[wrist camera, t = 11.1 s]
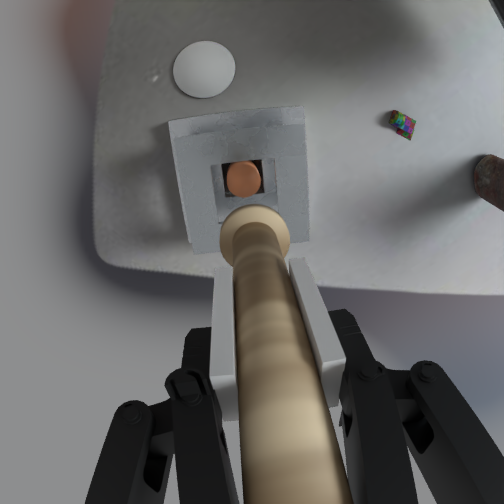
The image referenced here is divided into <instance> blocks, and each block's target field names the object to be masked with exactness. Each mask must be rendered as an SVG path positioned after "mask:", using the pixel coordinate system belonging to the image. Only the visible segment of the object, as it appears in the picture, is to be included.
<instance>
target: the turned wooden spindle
mask: <svg viewBox="0 0 504 504" xmlns="http://www.w3.org/2000/svg"><path fill="white" fill-rule="evenodd" d="M219 244H220V250H221V253H222V255H223V257H224V259H225V260H226V261H227V262H228V263H229V264H230V265H231V266H232V267H233V281H234V302H235V329H236V354H237V377H238V413H239V432H240V448H241V449H240V450H241V467H242V484H243V499H244V504H354V502H353V498H352V494H351V490H350V486H349V482H348V478H347V475H346V471H345V467H344V463H343V459H342V456H341V452H340V448H339V444H338V441H337V437H336V433H335V430H334V426H333V423H332V419H331V415H330V411H329V408H328V404H327V401H326V397H325V394H324V390H323V387H322V383H321V380H320V377H319V373H318V370H317V366H316V363H315V359H314V356H313V353H312V349H311V346H310V342H309V339H308V336H307V332H306V329H305V326H304V322H303V319H302V316H301V312H300V309H299V306H298V303H297V299H296V296H295V293H294V290H293V286H292V283H291V280H290V277H289V273H288V270H287V267H286V264H285V261H284V257H285V256H286V254H287V252H288V249H289V245H290V235H289V231H288V228H287V226H286V224H285V221H284V220H283V218H282V217H281V215H280V214H279V213H278V212H277V211H275V210H274V209H272V208H270V207H268V206H265V205H261V204H248V205H244V206H241V207H239V208H237V209H235V210H233V211H232V212H231V213H230V214H229V215H228V216H227V217H226V218H225V220H224V222H223V223H222V226H221V230H220V240H219Z"/></svg>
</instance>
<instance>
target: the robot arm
mask: <svg viewBox="0 0 504 504" xmlns="http://www.w3.org/2000/svg"><path fill="white" fill-rule="evenodd" d="M489 2H490V4H491V6H492V7H493V9H494V11H495V13H496V15H497V17H498V19H499V20H500V22H501V24H502V26H503V28H504V0H489ZM289 276H290V280H291V283H292V286H293V290H294V293H295V296H296V299H297V303H298V306H299V309H300V312H301V316H302V319H303V322H304V326H305V329H306V332H307V336H308V339H309V342H310V346H311V349H312V353H313V356H314V359H315V363H316V366H317V370H318V373H319V377H320V380H321V383H322V387H323V390H324V394H325V397H326V401H327V404H328V408H330V407H335V406H338V403H339V399H340V402H341V405H342V412H341V417H340V421H339V426H342V428H343V436H344V446H345V454H346V465H347V476H348V482H349V486H350V490H351V494H352V498H353V502H354V504H418V499H417V493H416V488H415V482H414V478H413V472H412V467H411V462H410V458H409V454H408V449H407V446H408V448H409V450H410V452H411V454H412V456H413V458H414V459H415V461H416V463H417V465H418V467H419V469H420V471H421V473H422V475H423V477H424V479H425V481H426V483H427V485H428V487H429V489H430V491H431V492H432V495H433V496H434V499H435V501H436V503H437V504H504V457H503V455H502V453H501V452H500V450H499V449H498V447H497V446H496V444H495V443H494V441H493V439H492V438H491V436H490V435H489V433H488V432H487V431H486V429H485V427H484V426H483V425H482V423H481V422H480V420H479V419H478V417H477V416H476V414H475V413H474V411H473V410H472V409H471V407H470V406H469V404H468V403H467V402H466V400H465V399H464V397H463V396H462V395H461V393H460V392H459V390H458V389H457V388H456V386H455V385H454V384H453V383H452V381H451V380H450V378H449V377H448V376H447V374H446V373H445V372H444V370H443V369H442V368H441V367H440V366H439V365H438V364H436V363H434V362H432V361H425V360H424V361H420V362H417V363H416V364H414V365H413V366H412V368H411V370H391V369H387V368H385V366H384V365H382V364H381V363H380V362H378V361H376V360H375V359H374V357H373V355H372V353H371V351H370V349H369V346H368V344H367V342H366V340H365V338H364V336H363V334H362V333H361V330H360V328H359V326H358V324H357V322H356V320H355V318H354V316H353V315H352V314H350V312H348V311H347V310H346V309H341V310H334V311H328V312H327V310H326V307H325V305H324V303H323V300H322V297H321V295H320V293H319V290H318V288H317V285H316V283H315V281H314V278H313V276H312V274H311V271H310V269H309V267H308V264H307V262H306V260H305V258H295V259H289ZM165 388H166V390H167V392H168V394H169V396H170V398H169V399H168V400H166V401H163V402H161V403H157V404H154V405H151V406H147V405H146V404H145V403H144V402H141V401H138V400H133V401H128V402H125V403H123V404H122V405H121V406H119V407H118V409H117V410H116V412H115V414H114V417H113V420H112V422H111V425H110V428H109V431H108V433H107V436H106V439H105V442H104V445H103V448H102V451H101V454H100V457H99V460H98V463H97V466H96V469H95V472H94V475H93V478H92V481H91V484H90V488H89V491H88V494H87V497H86V501H85V504H163V503H164V498H165V493H166V488H167V483H168V478H169V472H170V468H171V463H172V458H173V454H175V460H176V472H177V481H178V491H179V500H180V504H239V500H238V495H237V492H236V487H235V482H234V477H233V473H232V468H231V463H230V458H229V454H228V448H227V444H226V438H225V433H224V430H223V427H222V417H223V420H224V421H236V420H239V413H238V377H237V354H236V329H235V302H234V281H233V274H232V268H231V266H228V267H219V268H215V280H214V296H213V312H212V327H206V328H194V329H191V330H190V332H189V333H188V334H187V336H186V337H185V344H184V350H183V358H182V366H181V368H180V369H176V370H175V371H173V372H172V373H170V375H169V376H168V377H167V378H166V381H165Z"/></svg>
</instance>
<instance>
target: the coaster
mask: <svg viewBox="0 0 504 504" xmlns="http://www.w3.org/2000/svg"><path fill="white" fill-rule="evenodd" d="M234 74H235V62H234V59H233V56H232V54H231V53H230V52H229V51H228V49H226V48H225V47H224V46H222V45H221V44H219V43H216V42H212V41H200V42H196V43H193V44H191V45H189V46H187V47H186V48H184V49H183V50H182V51H181V52H180V53H179V55H178V56H177V58H176V60H175V63H174V67H173V75H174V79H175V82H176V84H177V85H178V87H179V88H180V89H181V90H182V91H183V92H185V93H186V94H188V95H190V96H193V97H197V98H209V97H213V96H216V95H218V94H220V93H221V92H223V91H224V90H225V89H226V88H227V87H228V86H229V85H230V83H231V82H232V80H233V77H234Z"/></svg>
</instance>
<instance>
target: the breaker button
mask: <svg viewBox="0 0 504 504" xmlns="http://www.w3.org/2000/svg"><path fill="white" fill-rule="evenodd" d="M260 184H261V178H260V175H259V172H258V170H257V167H256V165H255V164H254V163H253V162H252V161H251V160H248V161H239V162H232V163H231V164H230V165H229V167H228V170H227V186H228V188H229V190H230V192H231V193H232V194H234V195H235V196H238V197H242V198H245V197H250V196H252V195H254V194H255V193H256V192H257V191H258V189H259V187H260Z"/></svg>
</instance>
